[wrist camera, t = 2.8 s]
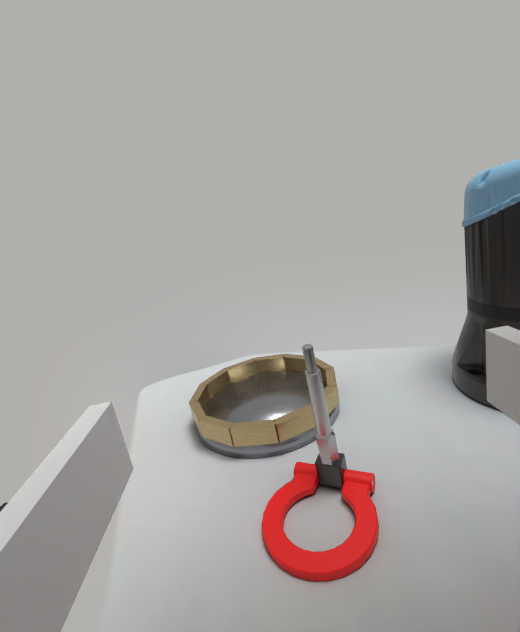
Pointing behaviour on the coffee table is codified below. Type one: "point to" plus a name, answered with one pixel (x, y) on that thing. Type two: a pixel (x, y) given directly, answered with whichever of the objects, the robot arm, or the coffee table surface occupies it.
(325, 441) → the tow hook
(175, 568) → the coffee table surface
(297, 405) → the wooden rimmed bowl
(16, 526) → the robot arm
